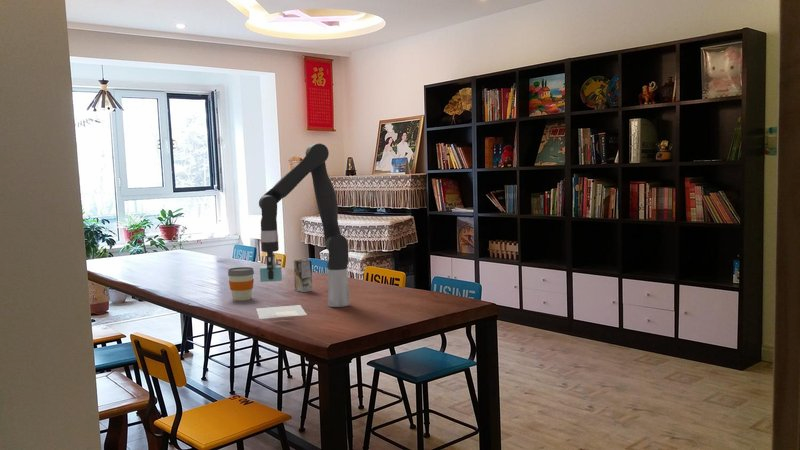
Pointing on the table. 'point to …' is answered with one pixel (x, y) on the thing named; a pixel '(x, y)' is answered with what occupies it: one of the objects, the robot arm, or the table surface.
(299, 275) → the coffee box
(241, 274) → the reusable coffee cup
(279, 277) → the card box
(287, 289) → the table surface
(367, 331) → the table surface
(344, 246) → the robot arm
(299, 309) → the mat
